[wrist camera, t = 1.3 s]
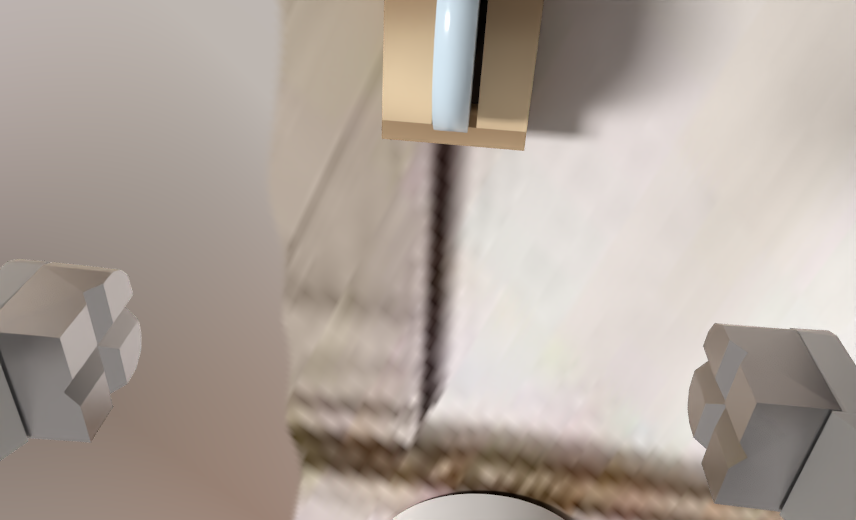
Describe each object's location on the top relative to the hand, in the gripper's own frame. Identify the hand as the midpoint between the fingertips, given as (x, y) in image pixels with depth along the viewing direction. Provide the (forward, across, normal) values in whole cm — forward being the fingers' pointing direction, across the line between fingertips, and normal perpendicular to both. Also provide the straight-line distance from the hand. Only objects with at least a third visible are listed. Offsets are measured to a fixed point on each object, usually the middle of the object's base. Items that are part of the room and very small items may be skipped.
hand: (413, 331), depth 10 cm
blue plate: (+22, 0, 0) cm, 22 cm away
